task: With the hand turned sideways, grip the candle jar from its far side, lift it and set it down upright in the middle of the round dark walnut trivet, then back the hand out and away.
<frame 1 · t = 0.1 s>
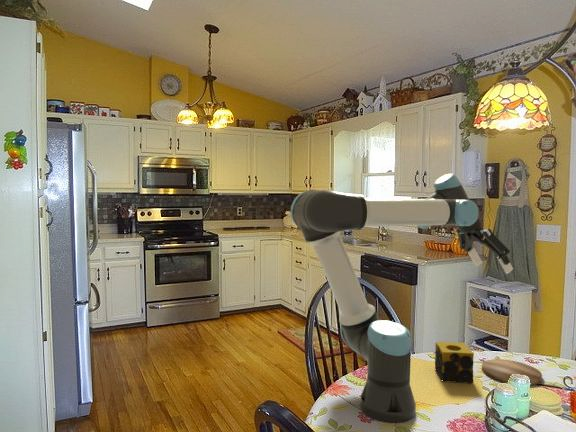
hand: (493, 267, 145), 36 cm above the table, tool tilted 35°, fingers open, 13 cm apart
candle: (453, 377, 142), on the table
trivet: (510, 373, 145), on the table
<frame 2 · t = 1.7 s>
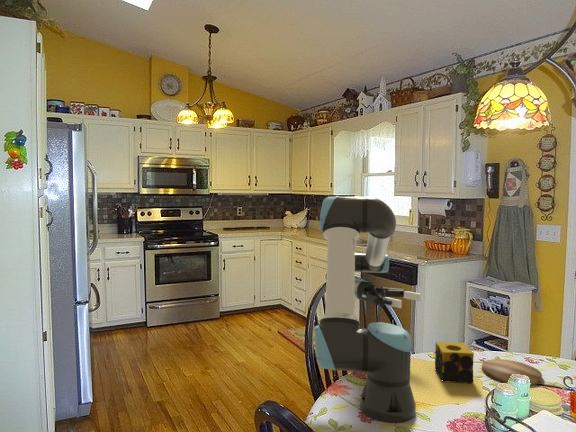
hand: (411, 300, 152), 22 cm above the table, tool horizontal, fingers open, 13 cm apart
nothing on the table moved.
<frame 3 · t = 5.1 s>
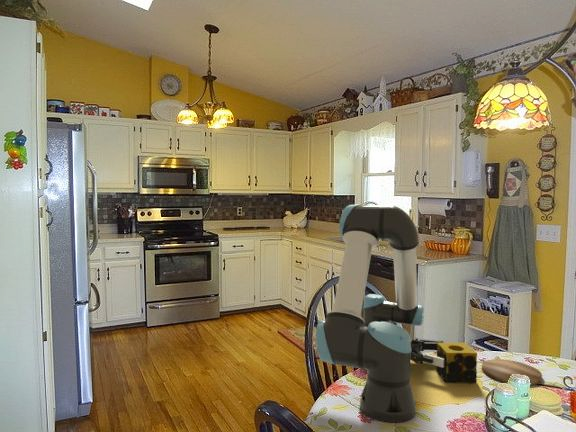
hand: (452, 357, 143), 6 cm above the table, tool horizontal, fingers open, 13 cm apart
candle: (455, 377, 142), on the table, touching gripper
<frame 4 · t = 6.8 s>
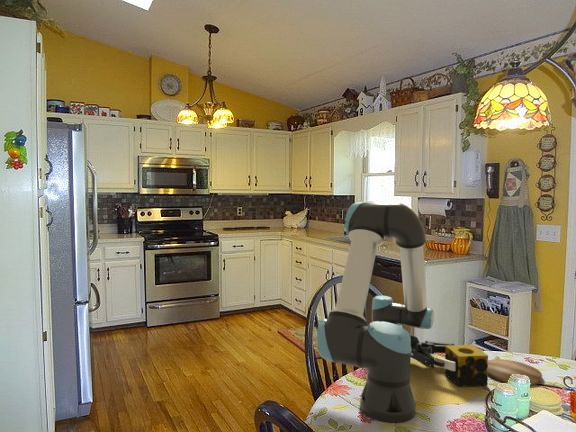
hand: (464, 361, 140), 6 cm above the table, tool horizontal, fingers closed on candle, 13 cm apart
candle: (465, 380, 139), on the table, touching gripper
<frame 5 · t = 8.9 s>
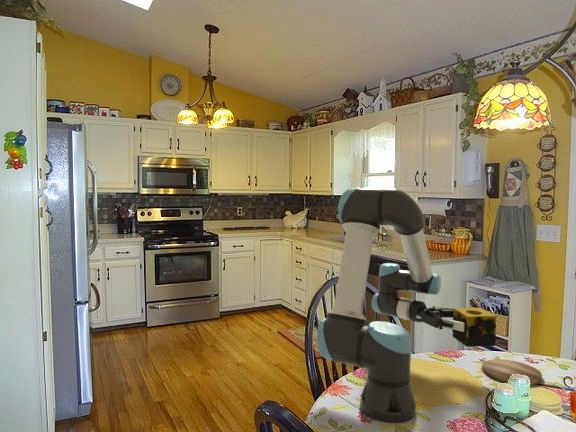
hand: (472, 322, 141), 18 cm above the table, tool horizontal, fingers closed on candle, 13 cm apart
candle: (473, 342, 141), point 12 cm above the table, touching gripper
when the fingers open (8 cm above the table, at t = 12.3 s): candle stays where it is, resting on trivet.
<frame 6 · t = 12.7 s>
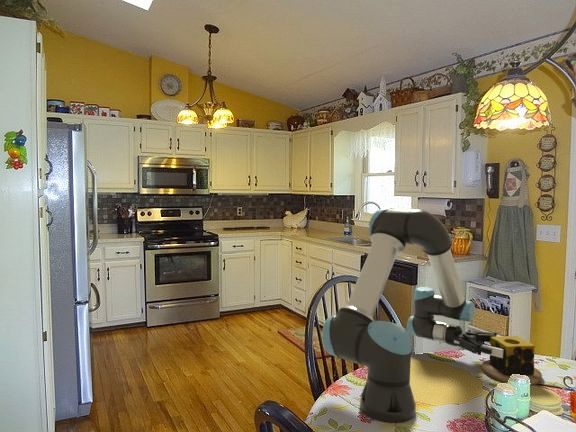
hand: (509, 348, 145), 8 cm above the table, tool horizontal, fingers open, 13 cm apart
candle: (511, 370, 145), point 1 cm above the table, touching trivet
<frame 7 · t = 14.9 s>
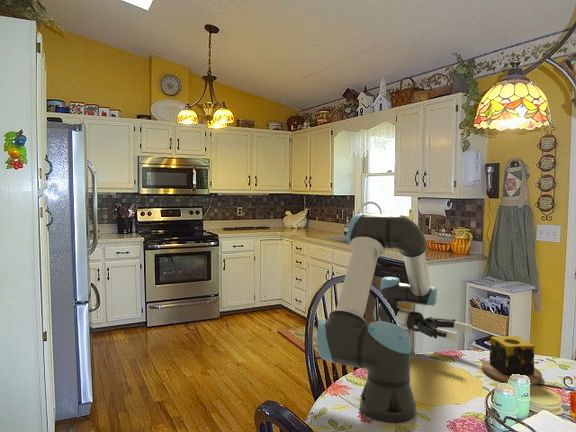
hand: (464, 332, 155), 11 cm above the table, tool horizontal, fingers open, 13 cm apart
nothing on the table moved.
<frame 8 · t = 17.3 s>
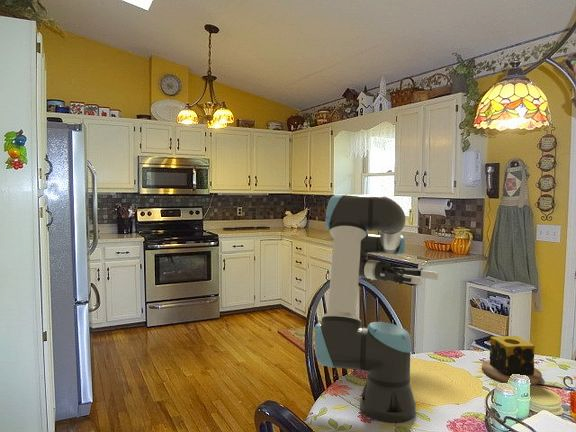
hand: (429, 278, 155), 30 cm above the table, tool horizontal, fingers open, 13 cm apart
nothing on the table moved.
at the end: candle inside the target area on the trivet (0.1 cm from its centre), point 1.3 cm above the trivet's base; candle tilted 0°; the gripper is holding nothing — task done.
